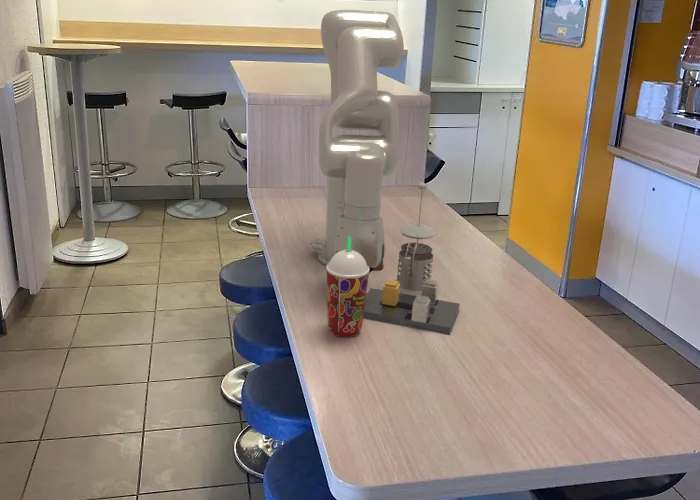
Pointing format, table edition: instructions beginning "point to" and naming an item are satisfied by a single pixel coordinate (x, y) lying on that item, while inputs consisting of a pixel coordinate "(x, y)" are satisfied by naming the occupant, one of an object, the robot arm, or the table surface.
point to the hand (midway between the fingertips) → (357, 291)
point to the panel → (399, 313)
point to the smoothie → (346, 291)
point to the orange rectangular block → (391, 293)
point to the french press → (415, 257)
